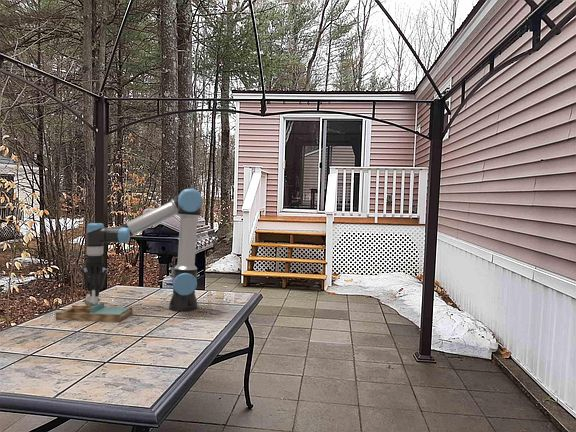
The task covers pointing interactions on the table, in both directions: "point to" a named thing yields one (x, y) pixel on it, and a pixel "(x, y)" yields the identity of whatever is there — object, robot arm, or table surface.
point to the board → (90, 315)
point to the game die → (90, 300)
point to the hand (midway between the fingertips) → (94, 302)
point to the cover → (107, 310)
